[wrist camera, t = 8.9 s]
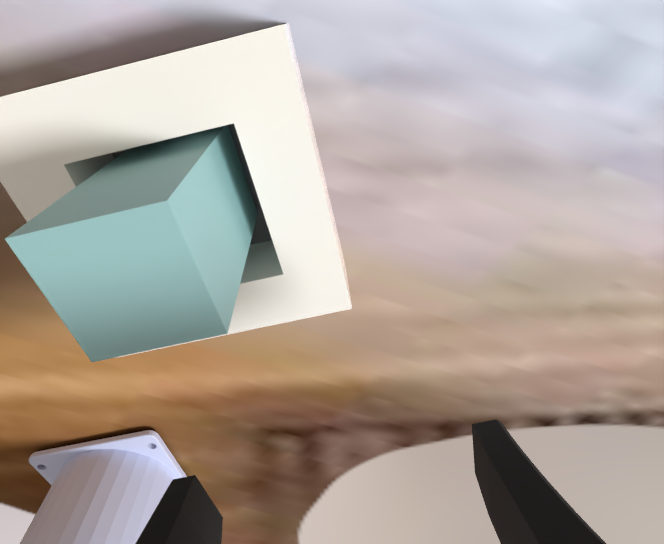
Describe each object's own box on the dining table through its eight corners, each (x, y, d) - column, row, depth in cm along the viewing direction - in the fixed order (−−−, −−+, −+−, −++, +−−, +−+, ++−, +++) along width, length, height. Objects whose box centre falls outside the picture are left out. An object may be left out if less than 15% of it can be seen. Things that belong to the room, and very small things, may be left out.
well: (345, 264, 20) (351, 308, 17) (144, 307, 20) (115, 357, 17) (288, 23, 15) (283, 24, 12) (22, 91, 15) (-48, 108, 12)
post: (257, 212, 18) (227, 333, 11) (173, 232, 18) (91, 362, 11) (227, 122, 16) (166, 200, 9) (132, 145, 16) (4, 238, 9)
